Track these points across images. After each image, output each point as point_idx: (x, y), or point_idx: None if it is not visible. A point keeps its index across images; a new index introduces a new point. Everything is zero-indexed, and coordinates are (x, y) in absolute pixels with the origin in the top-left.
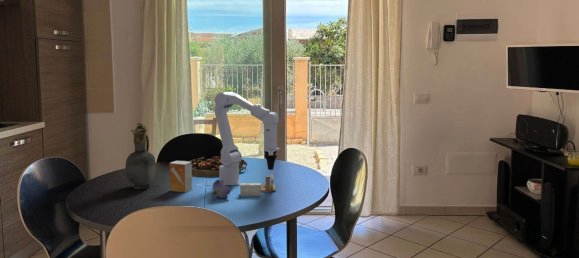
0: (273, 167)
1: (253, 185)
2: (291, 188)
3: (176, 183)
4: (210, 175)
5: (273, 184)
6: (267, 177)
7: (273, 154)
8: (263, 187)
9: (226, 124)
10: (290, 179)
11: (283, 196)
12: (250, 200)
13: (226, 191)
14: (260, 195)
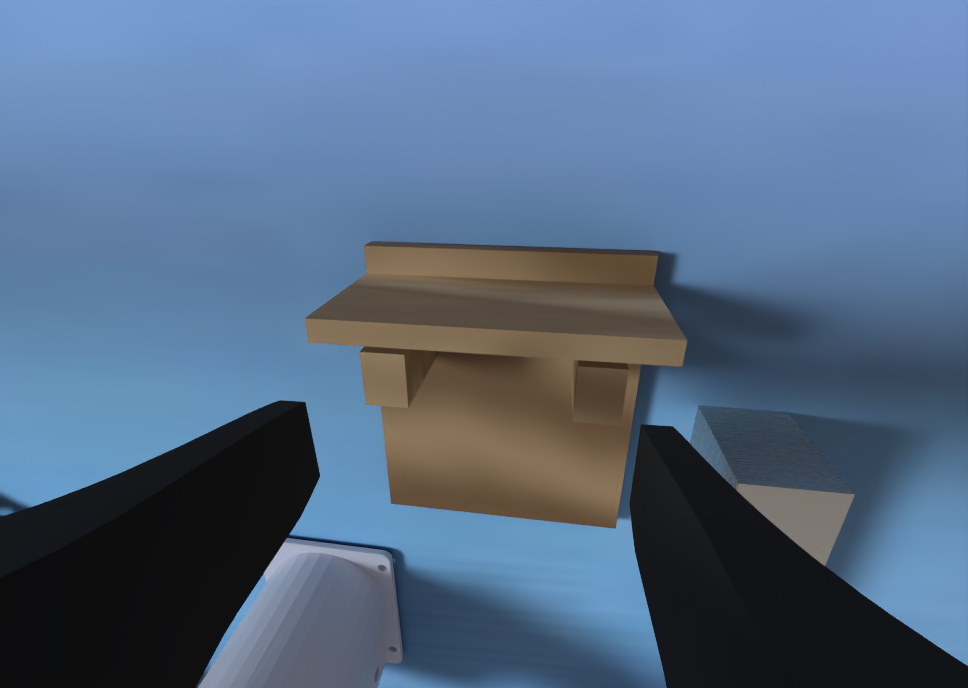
0: (694, 450)
1: (821, 562)
2: (496, 12)
3: None
4: None
5: (385, 266)
6: (409, 381)
7: (22, 634)
8: (520, 381)
9: None
10: (32, 18)
11: (909, 152)
12: (938, 510)
13: None
14: (786, 417)
